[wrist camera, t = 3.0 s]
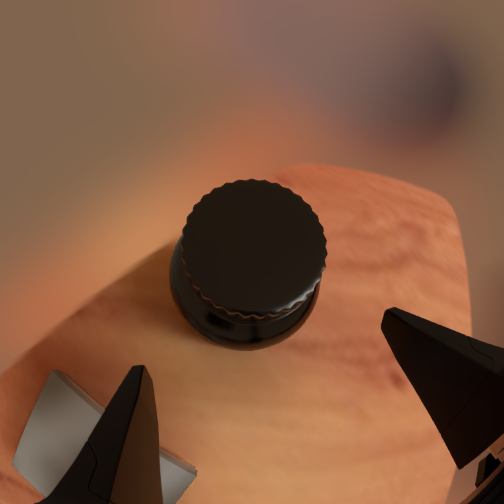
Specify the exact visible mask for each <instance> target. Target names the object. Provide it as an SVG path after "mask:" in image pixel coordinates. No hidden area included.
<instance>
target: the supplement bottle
mask: <svg viewBox="0 0 504 504" xmlns="http://www.w3.org/2000/svg"><path fill="white" fill-rule="evenodd" d="M323 232H324V229H323V226H322V225H321V224H320V223H319V219H318V216H317V215H316V214H315V213H314V212H313V211H312V208H311V206H310V205H309V204H307V203H306V202H304V201H303V199H302V197H301V196H299V195H297V194H294V193H293V192H292V191H291V190H290V189H289V188H284V187H282V186H281V185H279V184H278V183H270V182H268V181H266V180H259V181H258V180H255V179H249V180H246V181H245V180H237V181H235V182H233V183H225V184H224V185H223V186H221V187H218V188H214V189H213V190H212V191H211V193H209V194H206V195H204V196H203V197H202V199H201V201H200V202H198V203H197V204H195V205H194V207H193V211H192V212H191V213H190V214H189V215H188V217H187V224H186V225H185V226H184V228H183V230H182V233H183V234H182V236H181V237H180V239H179V240H178V242H177V244H176V246H175V249H174V251H173V255H172V258H171V263H170V271H169V281H170V289H171V293H172V297H173V300H174V302H175V305H176V307H177V309H178V311H179V312H180V314H181V316H182V317H183V319H184V320H185V321H186V323H187V324H188V325H189V326H190V327H191V328H192V329H193V330H194V331H195V332H196V333H197V334H198V335H200V336H201V337H203V338H204V339H206V340H207V341H209V342H211V343H213V344H215V345H218V346H220V347H223V348H227V349H232V350H239V351H252V350H259V349H264V348H267V347H270V346H273V345H276V344H278V343H280V342H282V341H284V340H285V339H287V338H289V337H290V336H291V335H293V334H294V333H295V332H296V331H297V330H299V329H300V327H301V326H302V325H303V324H304V323H305V322H306V320H307V319H308V318H309V316H310V314H311V312H312V311H313V308H314V306H315V304H316V301H317V298H318V294H319V289H320V281H321V277H322V272H323V271H324V269H325V267H326V265H325V258H326V256H327V250H326V247H325V246H326V242H327V240H326V238H325V236H324V234H323Z"/></svg>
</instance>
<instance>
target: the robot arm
mask: <svg viewBox="0 0 504 504" xmlns="http://www.w3.org/2000/svg"><path fill="white" fill-rule="evenodd" d="M381 330H382V332H383V334H384V336H385V338H386V340H387V342H388V344H389V346H390V348H391V350H392V352H393V354H394V356H395V358H396V360H397V362H398V363H399V365H400V366H401V368H402V370H403V371H404V373H405V375H406V376H407V378H408V379H409V381H410V383H411V384H412V386H413V388H414V389H415V391H416V393H417V394H418V396H419V398H420V399H421V401H422V403H423V404H424V406H425V408H426V410H427V411H428V413H429V415H430V417H431V418H432V420H433V422H434V424H435V425H436V427H437V429H438V431H439V433H440V434H441V437H442V438H443V440H444V442H445V444H446V446H447V448H448V450H449V452H450V454H451V456H452V457H453V459H454V461H455V463H456V465H457V467H458V469H459V470H460V469H462V468H463V467H464V466H465V465H467V464H468V463H470V462H471V461H472V460H474V459H475V458H476V457H477V456H479V455H480V454H481V453H482V452H483V451H485V450H486V449H487V448H488V450H489V451H490V452H489V453H488V454H487V455H486V456H485V457H484V458H483V459H482V460H481V461H480V462H479V466H478V472H477V478H476V483H475V485H476V487H477V489H476V490H475V491H474V492H472V493H471V494H470V495H469V496H468V497H467V498H466V499H465V500H464V501H462V502H461V503H460V504H504V348H501V347H498V346H494V345H491V344H488V343H485V342H482V341H479V340H477V339H474V338H472V337H469V336H466V335H464V334H461V333H459V332H456V331H454V330H451V329H449V328H446V327H444V326H441V325H439V324H436V323H434V322H431V321H429V320H426V319H424V318H421V317H419V316H416V315H414V314H411V313H409V312H406V311H404V310H401V309H398V308H396V307H392V308H389V309H387V310H386V311H385V312H384V316H383V319H382V323H381ZM87 440H88V441H86V442H85V444H84V446H83V447H82V449H81V451H80V452H79V454H78V456H77V457H76V459H75V460H74V462H73V463H72V465H71V466H70V468H69V469H68V470H67V472H66V473H65V474H64V476H63V477H62V478H61V480H60V481H59V483H58V484H57V485H56V487H55V488H54V489H53V491H52V492H51V493H50V494H49V495H48V496H47V497H46V498H45V499H43V500H42V501H40V502H37V503H35V504H163V495H162V484H161V472H160V457H159V433H158V419H157V411H156V404H155V396H154V387H153V382H152V379H151V377H150V375H149V373H148V371H147V369H146V367H145V366H144V365H135V366H132V367H131V369H130V371H129V372H128V374H127V375H126V377H125V378H124V380H123V382H122V383H121V385H120V386H119V388H118V390H117V391H116V393H115V394H114V396H113V398H112V399H111V401H110V402H109V404H108V406H107V407H106V409H105V411H104V412H103V414H102V416H101V417H100V419H99V421H98V422H97V424H96V426H95V427H94V429H93V431H92V432H91V434H90V436H89V437H88V439H87Z"/></svg>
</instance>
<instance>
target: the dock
mask: <svg viewBox="0 0 504 504" xmlns="http://www.w3.org/2000/svg"><path fill="white" fill-rule="evenodd" d="M104 411H105V408H104V407H102V406H101V405H100V404H99V403H97V402H96V401H95V400H94V399H93V398H92V397H90V396H89V395H88V394H87V393H86V392H85V391H84V390H82V389H81V388H80V387H79V386H78V385H77V384H76V383H75V382H74V381H73V380H72V379H70V378H69V377H68V376H67V375H66V374H63V373H62V372H61V371H60V370H52V371H51V373H50V375H49V377H48V379H47V381H46V383H45V385H44V387H43V389H42V391H41V393H40V395H39V397H38V399H37V402H36V404H35V406H34V408H33V410H32V413H31V415H30V417H29V420H28V422H27V424H26V427H25V429H24V432H23V434H22V437H21V440H20V442H19V445H18V448H17V450H16V453H15V456H14V459H13V462H12V466H13V467H14V468H15V469H16V470H17V471H18V472H19V473H20V474H21V475H22V476H23V477H24V478H25V479H26V480H27V481H28V482H29V483H30V484H31V485H32V486H33V487H34V488H35V489H36V490H37V491H39V492H40V493H41V494H42V495H43V496H44V497H45V498H46V497H47V496H48V495H49V494H50V493H51V492H52V491H53V489H54V488H55V487H56V485H57V484H58V483H59V481H60V480H61V478H62V477H63V476H64V474H65V473H66V472H67V470H68V469H69V468H70V466H71V465H72V463H73V462H74V460H75V459H76V457H77V456H78V454H79V452H80V451H81V449H82V447H83V446H84V444H85V442H86V441H88V440H87V439H88V437H89V436H90V434H91V432H92V431H93V429H94V427H95V426H96V424H97V422H98V421H99V419H100V417H101V416H102V414H103V412H104ZM159 457H160V472H161V484H162V495H163V504H175V503H176V502H177V500H178V499H179V498H180V497H181V496H182V494H183V493H184V492H185V490H186V489H187V488H188V487H189V485H190V484H191V483H192V481H193V480H194V479H195V478H196V476H197V470H196V469H195V467H194V466H192V465H190V464H188V463H187V462H185V461H183V460H181V459H179V458H177V457H176V456H174V455H172V454H171V453H169V452H167V451H165V450H164V449H162V448H160V447H159Z"/></svg>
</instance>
